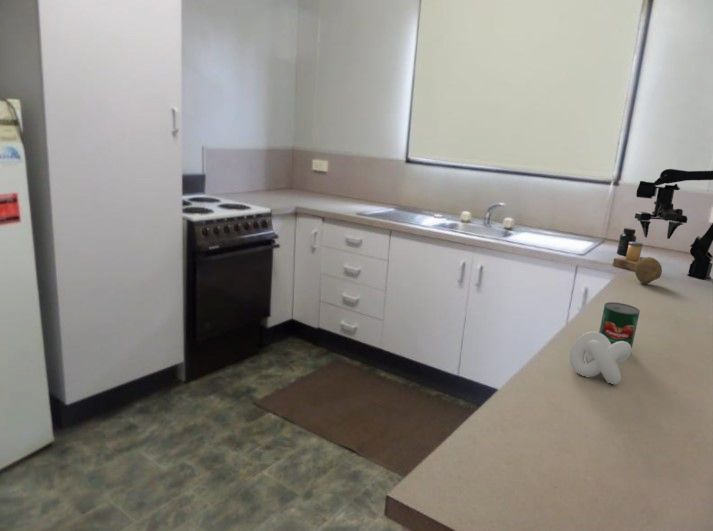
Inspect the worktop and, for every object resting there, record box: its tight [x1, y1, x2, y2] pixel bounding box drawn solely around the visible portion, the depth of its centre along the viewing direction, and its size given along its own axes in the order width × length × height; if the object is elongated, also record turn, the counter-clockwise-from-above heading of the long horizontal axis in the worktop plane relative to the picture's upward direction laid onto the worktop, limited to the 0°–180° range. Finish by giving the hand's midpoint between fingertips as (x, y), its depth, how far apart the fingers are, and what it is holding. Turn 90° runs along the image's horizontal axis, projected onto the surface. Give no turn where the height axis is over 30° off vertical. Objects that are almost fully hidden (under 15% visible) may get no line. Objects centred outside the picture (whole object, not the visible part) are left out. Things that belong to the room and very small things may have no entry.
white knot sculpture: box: [569, 330, 633, 385], centre depth 118 cm, size 11×12×9 cm
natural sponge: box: [634, 256, 663, 285], centre depth 202 cm, size 9×9×10 cm
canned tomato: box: [598, 301, 641, 349], centre depth 135 cm, size 8×8×11 cm
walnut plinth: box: [612, 256, 636, 272], centre depth 227 cm, size 10×10×3 cm
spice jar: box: [625, 241, 644, 262], centre depth 226 cm, size 5×5×7 cm
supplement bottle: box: [616, 227, 637, 257], centre depth 252 cm, size 7×7×12 cm
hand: (656, 238), depth 227 cm, fingers open, 9 cm apart
